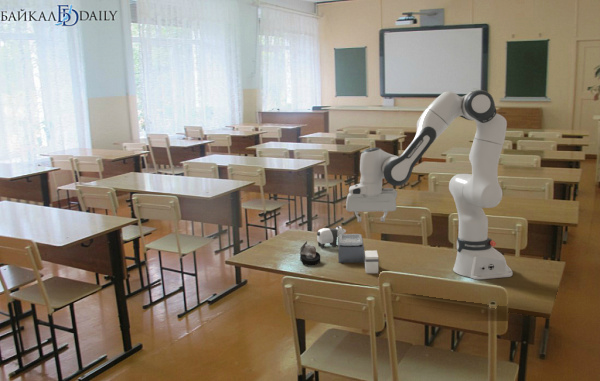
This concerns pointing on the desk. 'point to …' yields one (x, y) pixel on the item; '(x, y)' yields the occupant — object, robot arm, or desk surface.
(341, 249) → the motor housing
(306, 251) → the black based translucent ornament
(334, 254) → the desk surface
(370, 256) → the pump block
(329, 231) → the giant panda
